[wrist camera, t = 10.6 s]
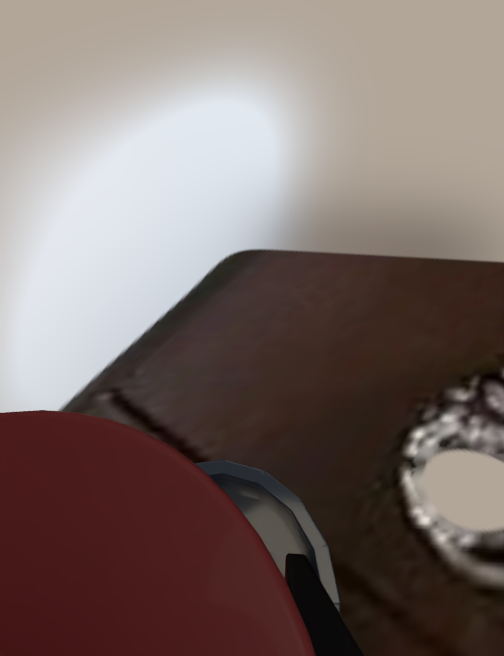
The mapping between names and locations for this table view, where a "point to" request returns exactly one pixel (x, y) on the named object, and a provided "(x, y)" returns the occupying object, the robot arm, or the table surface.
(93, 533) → the candle
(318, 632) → the robot arm
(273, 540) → the blue round dish
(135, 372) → the table surface
